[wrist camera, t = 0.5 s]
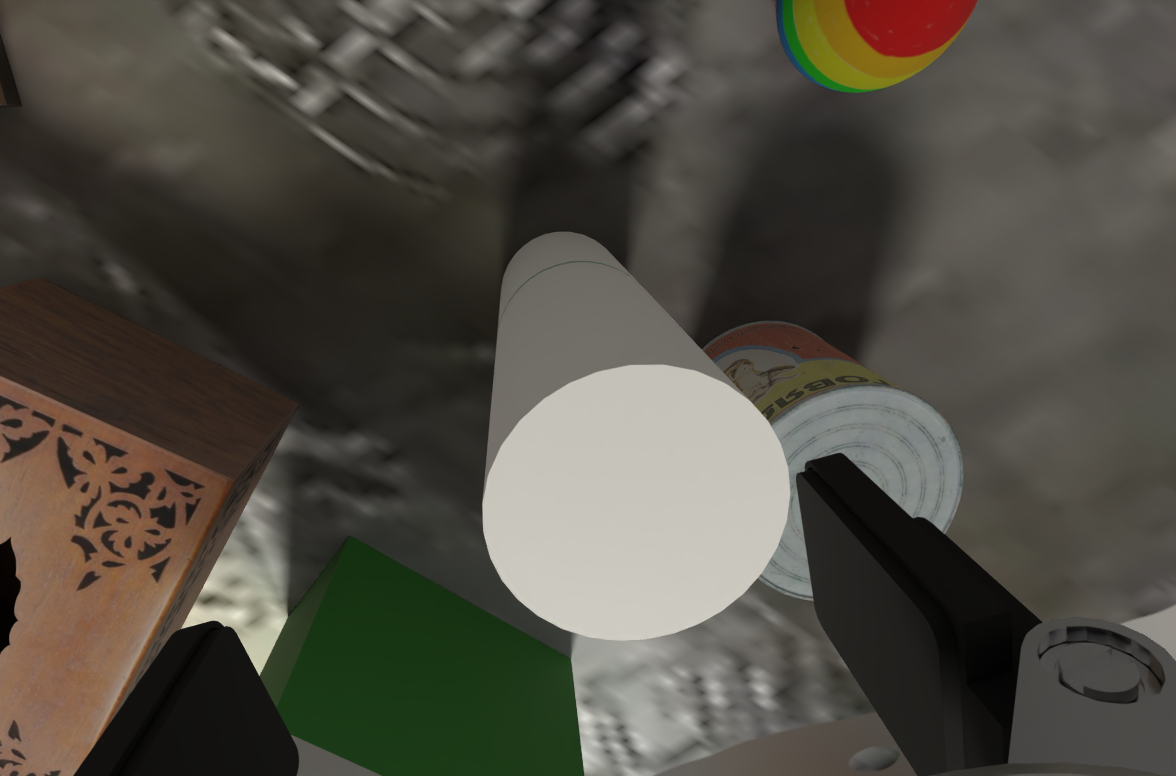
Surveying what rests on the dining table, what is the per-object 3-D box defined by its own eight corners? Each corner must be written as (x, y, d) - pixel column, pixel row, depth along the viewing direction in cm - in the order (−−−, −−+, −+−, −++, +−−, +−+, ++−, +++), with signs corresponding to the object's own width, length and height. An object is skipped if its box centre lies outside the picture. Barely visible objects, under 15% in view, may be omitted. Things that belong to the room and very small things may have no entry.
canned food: (765, 282, 40) (864, 333, 29) (880, 398, 43) (1009, 484, 32) (635, 417, 42) (679, 515, 31) (754, 518, 45) (834, 640, 34)
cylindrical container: (537, 374, 40) (570, 684, 17) (478, 267, 38) (421, 457, 15) (644, 320, 40) (831, 560, 17) (591, 208, 38) (721, 306, 14)
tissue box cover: (42, 276, 36) (-124, 320, 27) (300, 402, 40) (234, 480, 30) (-100, 632, 42) (-277, 770, 33) (136, 713, 46) (39, 858, 36)
